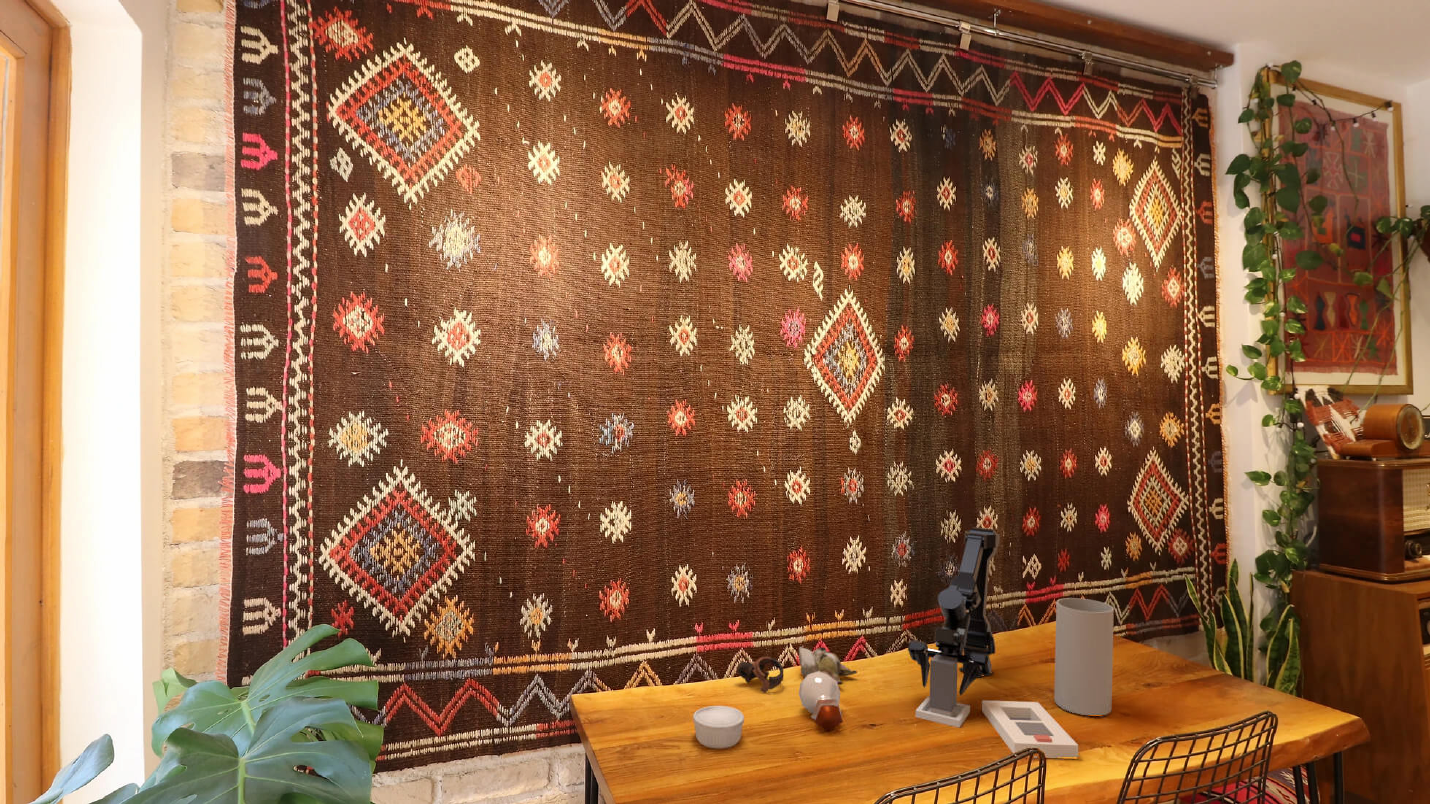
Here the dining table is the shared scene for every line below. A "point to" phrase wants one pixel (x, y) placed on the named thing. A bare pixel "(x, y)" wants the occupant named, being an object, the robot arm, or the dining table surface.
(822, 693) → the potion bottle
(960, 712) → the tray
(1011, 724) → the power strip
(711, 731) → the ramekin
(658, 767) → the dining table surface
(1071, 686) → the cylinder vase
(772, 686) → the brown curved piece
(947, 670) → the plug
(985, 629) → the robot arm
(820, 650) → the ceramic sculpture
